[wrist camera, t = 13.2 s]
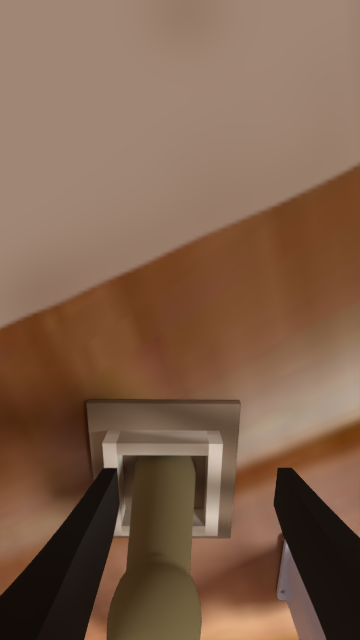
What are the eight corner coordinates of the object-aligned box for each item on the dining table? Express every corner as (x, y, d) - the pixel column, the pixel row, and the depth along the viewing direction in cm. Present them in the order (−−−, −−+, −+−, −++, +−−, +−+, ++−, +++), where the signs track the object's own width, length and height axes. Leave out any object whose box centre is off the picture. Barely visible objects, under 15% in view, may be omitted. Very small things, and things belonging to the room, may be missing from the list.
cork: (139, 498, 22) (100, 714, 11) (129, 447, 21) (76, 637, 10) (198, 492, 22) (217, 706, 11) (193, 441, 21) (208, 626, 10)
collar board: (229, 531, 24) (234, 557, 22) (100, 531, 24) (92, 557, 21) (239, 400, 20) (246, 415, 18) (88, 399, 20) (78, 414, 18)
